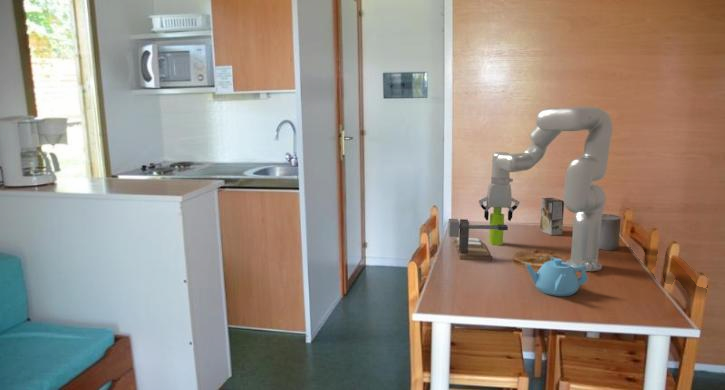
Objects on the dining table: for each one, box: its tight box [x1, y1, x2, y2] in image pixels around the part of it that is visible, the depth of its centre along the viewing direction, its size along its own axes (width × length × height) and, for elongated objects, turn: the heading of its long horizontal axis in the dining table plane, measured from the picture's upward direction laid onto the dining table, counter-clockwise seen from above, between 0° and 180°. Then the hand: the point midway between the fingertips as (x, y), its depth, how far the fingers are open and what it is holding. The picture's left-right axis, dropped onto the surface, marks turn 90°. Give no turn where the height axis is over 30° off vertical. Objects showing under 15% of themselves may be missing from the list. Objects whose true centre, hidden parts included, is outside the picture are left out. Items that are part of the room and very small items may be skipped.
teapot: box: [525, 256, 589, 297], centre depth 179 cm, size 15×15×11 cm
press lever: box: [447, 218, 509, 238], centre depth 215 cm, size 6×23×6 cm, turn 87°
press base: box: [452, 218, 491, 261], centre depth 223 cm, size 24×12×14 cm, turn 177°
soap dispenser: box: [488, 207, 505, 246], centre depth 233 cm, size 6×7×20 cm
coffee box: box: [539, 197, 565, 236], centre depth 253 cm, size 9×6×16 cm
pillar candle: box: [599, 213, 621, 252], centre depth 228 cm, size 10×10×15 cm
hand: (498, 220), depth 233 cm, fingers open, 9 cm apart
